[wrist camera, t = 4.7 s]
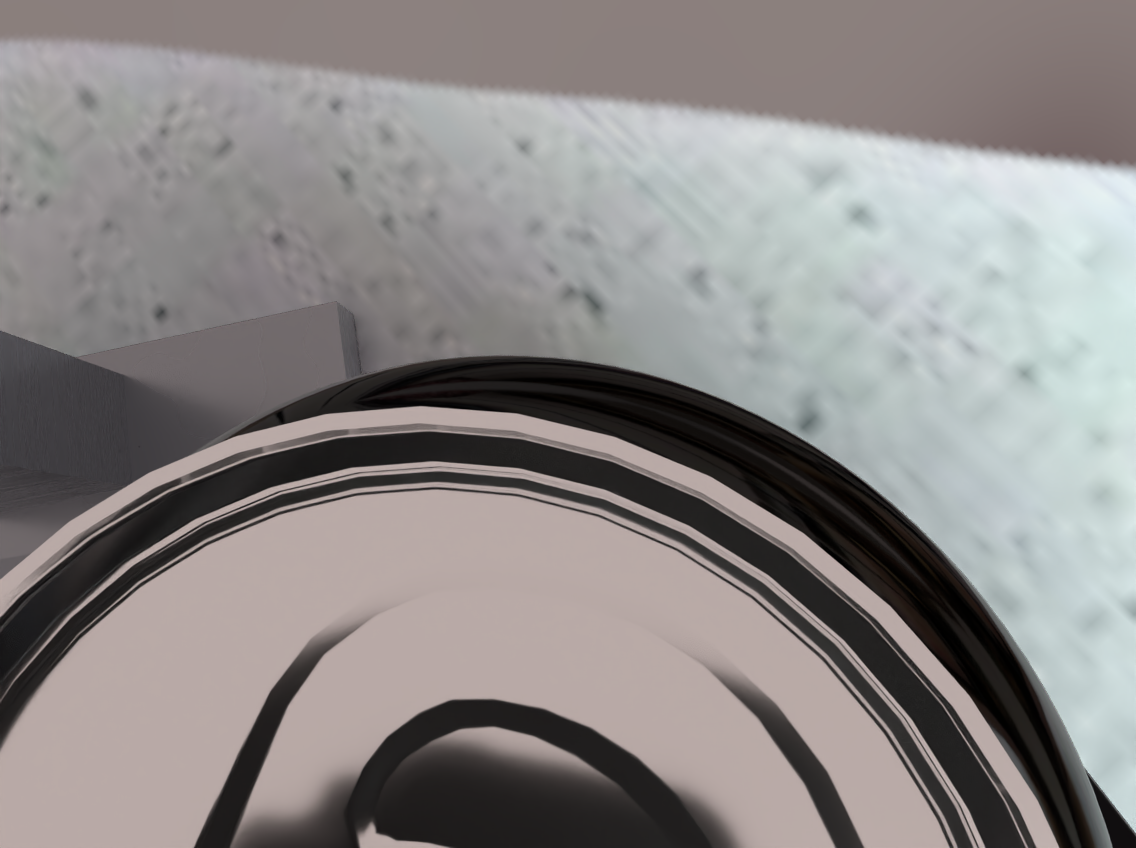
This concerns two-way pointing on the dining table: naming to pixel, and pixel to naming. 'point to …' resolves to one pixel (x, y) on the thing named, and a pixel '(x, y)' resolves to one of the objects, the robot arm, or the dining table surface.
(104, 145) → the dining table surface
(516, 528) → the beverage can
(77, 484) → the keeper seat
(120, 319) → the dining table surface
